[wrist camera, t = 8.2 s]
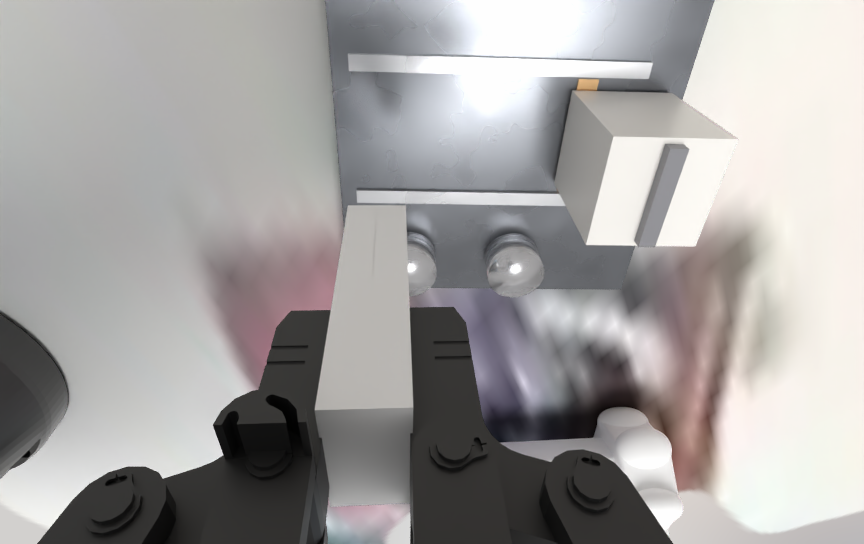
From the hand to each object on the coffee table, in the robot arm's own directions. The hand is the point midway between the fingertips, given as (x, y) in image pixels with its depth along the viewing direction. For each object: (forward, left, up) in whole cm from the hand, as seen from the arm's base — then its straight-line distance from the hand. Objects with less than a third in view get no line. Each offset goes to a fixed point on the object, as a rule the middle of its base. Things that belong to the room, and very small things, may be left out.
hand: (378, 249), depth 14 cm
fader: (+9, 0, -8) cm, 12 cm away
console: (+5, 0, -11) cm, 12 cm away
